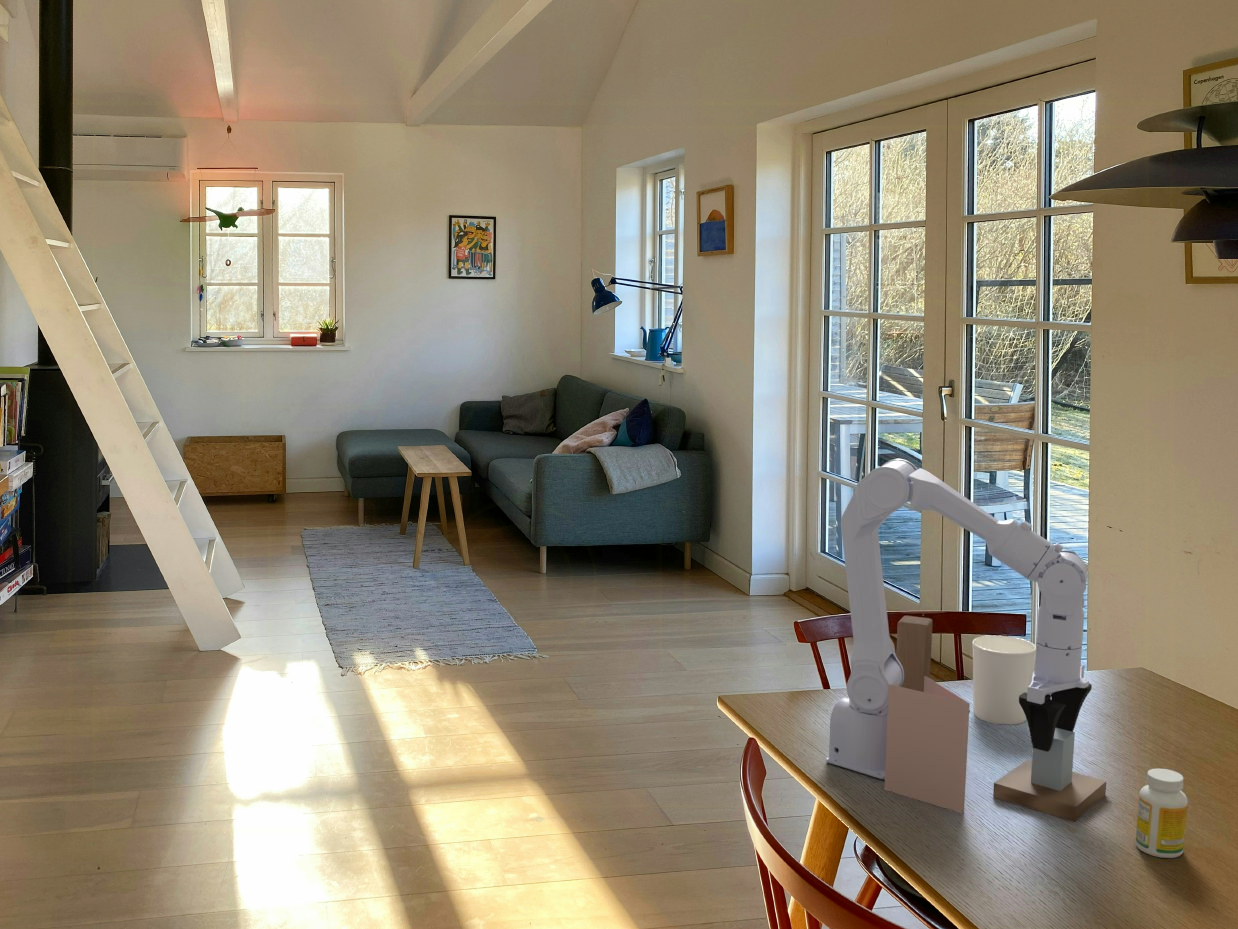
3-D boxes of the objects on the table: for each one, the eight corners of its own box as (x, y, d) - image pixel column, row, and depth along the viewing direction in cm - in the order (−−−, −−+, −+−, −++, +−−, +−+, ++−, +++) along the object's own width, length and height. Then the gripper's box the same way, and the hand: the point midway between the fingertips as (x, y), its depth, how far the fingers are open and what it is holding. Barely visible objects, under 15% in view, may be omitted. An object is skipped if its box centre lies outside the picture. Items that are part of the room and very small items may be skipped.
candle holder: (1024, 731, 181) (1029, 657, 179) (961, 719, 186) (965, 646, 184) (1038, 712, 189) (1042, 641, 187) (977, 701, 194) (981, 632, 192)
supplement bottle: (1128, 849, 142) (1134, 774, 141) (1144, 835, 146) (1149, 762, 145) (1175, 864, 138) (1181, 787, 137) (1189, 849, 142) (1195, 774, 141)
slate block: (1030, 782, 157) (1033, 733, 156) (1042, 773, 160) (1045, 725, 159) (1060, 791, 154) (1063, 740, 153) (1071, 782, 157) (1074, 732, 156)
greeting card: (969, 812, 152) (975, 702, 150) (918, 819, 150) (923, 707, 148) (925, 778, 163) (930, 675, 161) (877, 783, 161) (881, 679, 159)
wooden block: (957, 735, 179) (963, 622, 176) (951, 745, 175) (957, 629, 172) (899, 725, 183) (903, 614, 180) (892, 734, 179) (897, 621, 176)
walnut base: (993, 797, 157) (993, 783, 156) (1026, 772, 165) (1027, 759, 165) (1074, 821, 149) (1075, 807, 149) (1105, 795, 158) (1106, 781, 157)
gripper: (1068, 662, 146) (1061, 765, 148) (1109, 638, 157) (1102, 734, 159) (1014, 650, 151) (1008, 750, 153) (1057, 627, 162) (1051, 721, 163)
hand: (1052, 741), depth 156 cm, fingers open, 7 cm apart
